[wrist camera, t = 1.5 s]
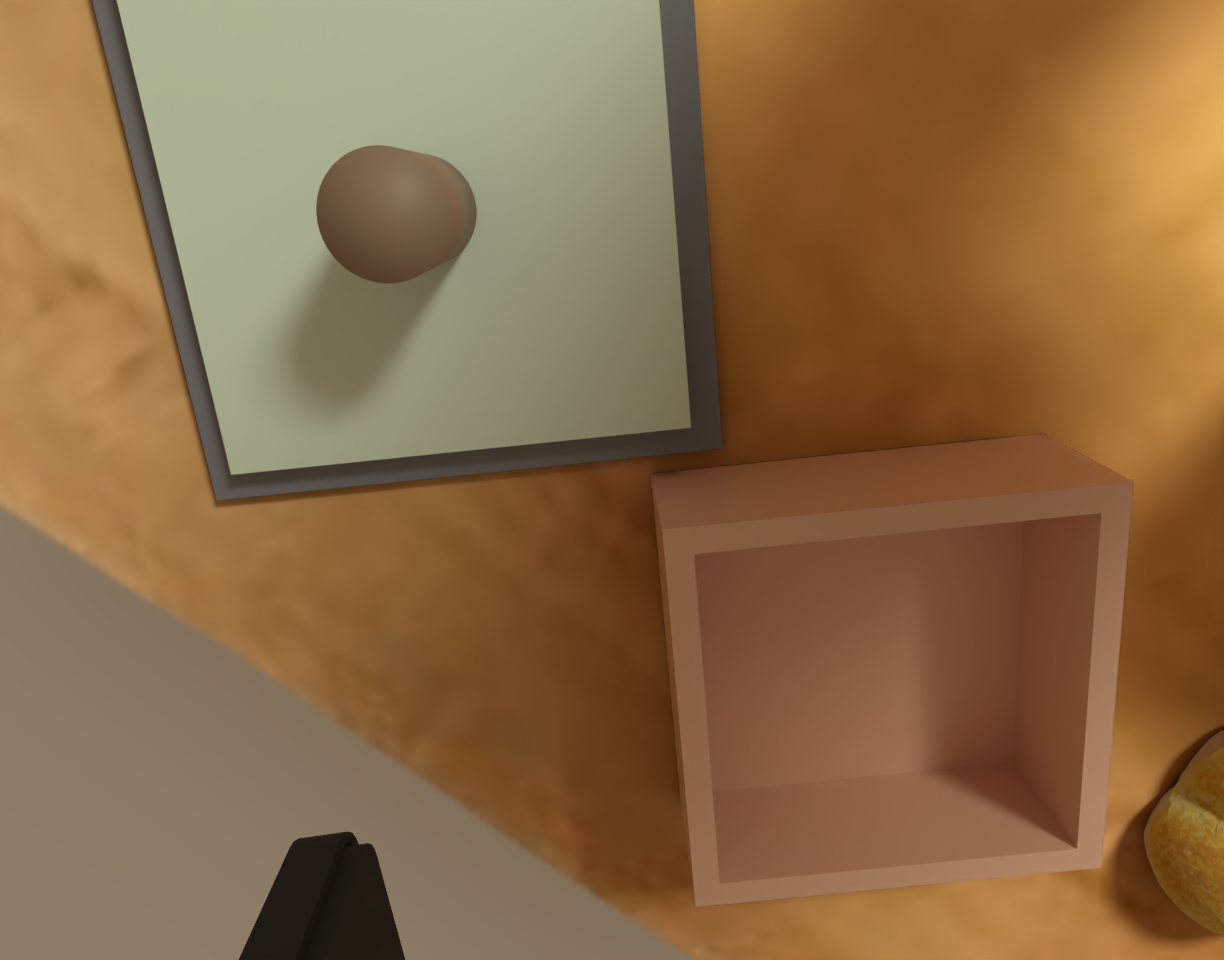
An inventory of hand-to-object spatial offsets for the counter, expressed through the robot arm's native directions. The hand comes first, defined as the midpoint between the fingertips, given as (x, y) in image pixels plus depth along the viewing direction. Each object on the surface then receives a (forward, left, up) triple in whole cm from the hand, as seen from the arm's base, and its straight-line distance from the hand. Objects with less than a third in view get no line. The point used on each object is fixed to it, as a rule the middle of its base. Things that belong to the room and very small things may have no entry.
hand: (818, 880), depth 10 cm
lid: (-7, -6, -19) cm, 22 cm away
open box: (+8, +6, -20) cm, 22 cm away
